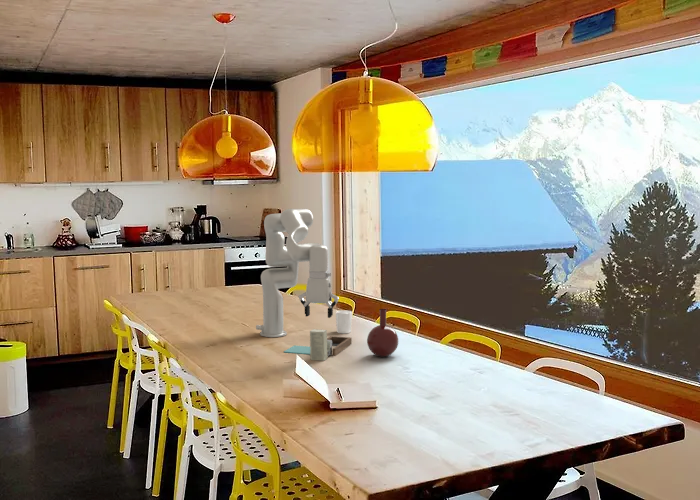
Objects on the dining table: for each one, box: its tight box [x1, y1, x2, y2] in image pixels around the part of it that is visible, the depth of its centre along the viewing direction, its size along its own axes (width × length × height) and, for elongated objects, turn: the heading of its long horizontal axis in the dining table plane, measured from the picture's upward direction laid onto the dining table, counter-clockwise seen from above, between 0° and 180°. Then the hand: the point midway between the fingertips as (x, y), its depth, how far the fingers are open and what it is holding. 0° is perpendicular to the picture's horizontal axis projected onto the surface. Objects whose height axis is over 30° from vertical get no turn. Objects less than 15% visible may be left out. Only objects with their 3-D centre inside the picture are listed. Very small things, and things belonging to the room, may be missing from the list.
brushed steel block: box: [327, 340, 333, 358], centre depth 316 cm, size 6×6×6 cm
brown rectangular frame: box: [327, 335, 353, 357], centre depth 329 cm, size 10×23×3 cm, turn 163°
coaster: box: [283, 345, 311, 356], centre depth 326 cm, size 12×12×1 cm
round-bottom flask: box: [366, 308, 399, 358], centre depth 315 cm, size 13×13×20 cm
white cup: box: [335, 309, 353, 335], centre depth 363 cm, size 8×8×10 cm
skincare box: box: [309, 328, 328, 361], centre depth 310 cm, size 6×4×12 cm
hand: (318, 316), depth 309 cm, fingers open, 9 cm apart
